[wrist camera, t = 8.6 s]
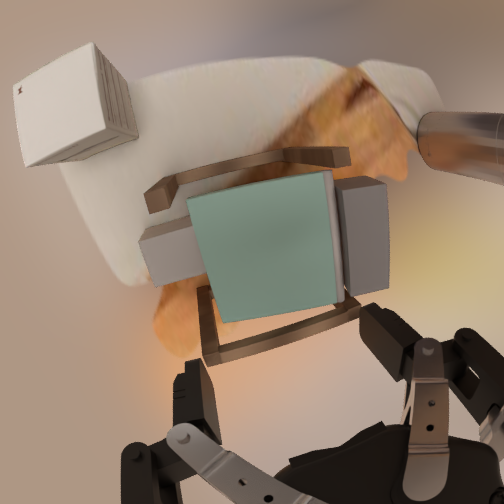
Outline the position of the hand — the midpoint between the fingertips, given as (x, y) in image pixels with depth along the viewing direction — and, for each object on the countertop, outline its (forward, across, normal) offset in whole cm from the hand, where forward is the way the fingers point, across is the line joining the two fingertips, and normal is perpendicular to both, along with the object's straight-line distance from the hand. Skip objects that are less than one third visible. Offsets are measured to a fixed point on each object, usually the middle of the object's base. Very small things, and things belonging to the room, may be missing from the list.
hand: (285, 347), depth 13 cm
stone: (+18, +3, 0) cm, 19 cm away
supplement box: (+21, +11, -16) cm, 28 cm away
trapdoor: (+13, -5, 0) cm, 14 cm away
